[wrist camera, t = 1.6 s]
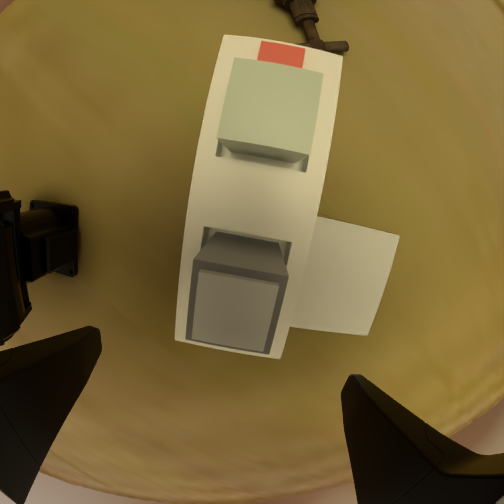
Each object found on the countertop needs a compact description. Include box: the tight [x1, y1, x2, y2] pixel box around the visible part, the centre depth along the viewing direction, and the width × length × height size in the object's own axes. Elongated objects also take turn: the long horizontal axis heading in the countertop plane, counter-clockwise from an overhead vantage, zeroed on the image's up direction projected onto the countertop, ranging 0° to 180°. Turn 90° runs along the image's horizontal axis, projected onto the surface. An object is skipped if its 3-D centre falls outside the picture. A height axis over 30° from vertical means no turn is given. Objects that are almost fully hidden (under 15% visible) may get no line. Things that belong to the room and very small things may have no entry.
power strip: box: [175, 35, 343, 359], centre depth 18 cm, size 22×8×4 cm, turn 170°
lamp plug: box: [217, 57, 323, 163], centre depth 14 cm, size 4×4×6 cm
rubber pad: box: [290, 216, 400, 335], centre depth 21 cm, size 8×9×1 cm
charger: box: [185, 231, 289, 354], centre depth 16 cm, size 4×4×7 cm
